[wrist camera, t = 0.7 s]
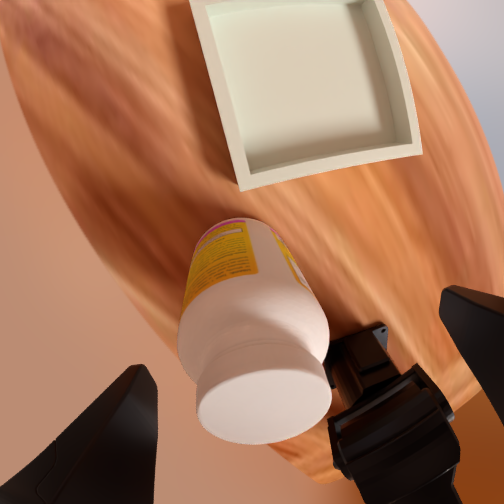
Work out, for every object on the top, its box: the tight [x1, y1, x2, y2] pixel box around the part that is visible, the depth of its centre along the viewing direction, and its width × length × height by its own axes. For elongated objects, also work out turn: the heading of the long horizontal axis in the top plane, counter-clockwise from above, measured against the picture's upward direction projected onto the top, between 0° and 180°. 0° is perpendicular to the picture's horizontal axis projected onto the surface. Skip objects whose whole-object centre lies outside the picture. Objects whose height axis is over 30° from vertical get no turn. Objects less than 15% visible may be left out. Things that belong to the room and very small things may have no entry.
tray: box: [189, 0, 423, 192], centre depth 15 cm, size 13×13×2 cm
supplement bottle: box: [177, 218, 332, 444], centre depth 14 cm, size 7×7×13 cm
